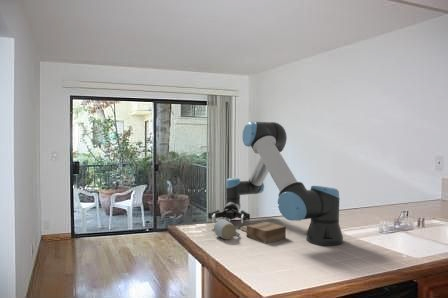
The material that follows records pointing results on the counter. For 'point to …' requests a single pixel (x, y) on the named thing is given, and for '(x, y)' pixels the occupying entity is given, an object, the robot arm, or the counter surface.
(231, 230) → the ceramic mug
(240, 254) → the counter surface
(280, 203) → the robot arm
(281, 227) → the walnut base block
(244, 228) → the cork coaster
